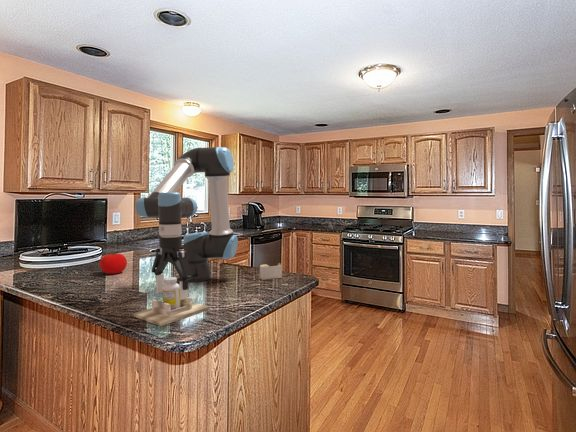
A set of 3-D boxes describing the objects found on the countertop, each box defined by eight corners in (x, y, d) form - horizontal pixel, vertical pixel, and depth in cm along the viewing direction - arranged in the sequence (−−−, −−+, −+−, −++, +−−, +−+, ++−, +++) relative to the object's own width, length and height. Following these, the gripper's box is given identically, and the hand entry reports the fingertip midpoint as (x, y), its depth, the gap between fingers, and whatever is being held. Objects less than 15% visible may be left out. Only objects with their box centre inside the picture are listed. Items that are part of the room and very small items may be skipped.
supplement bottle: (173, 305, 125) (172, 275, 124) (184, 308, 122) (183, 277, 121) (159, 310, 120) (158, 279, 119) (170, 313, 117) (169, 281, 116)
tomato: (131, 272, 185) (131, 252, 185) (108, 277, 174) (107, 255, 174) (119, 269, 192) (118, 250, 191) (95, 274, 181) (94, 253, 180)
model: (259, 279, 171) (259, 264, 171) (279, 277, 175) (279, 262, 175) (262, 280, 168) (262, 265, 168) (281, 278, 172) (281, 263, 172)
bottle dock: (133, 316, 117) (132, 302, 117) (181, 301, 134) (181, 289, 133) (160, 326, 108) (160, 311, 108) (208, 309, 124) (208, 295, 124)
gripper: (140, 234, 123) (142, 292, 125) (184, 239, 109) (185, 304, 110) (158, 232, 130) (160, 287, 131) (202, 237, 115) (203, 298, 116)
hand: (171, 295), depth 121 cm, fingers open, 13 cm apart
